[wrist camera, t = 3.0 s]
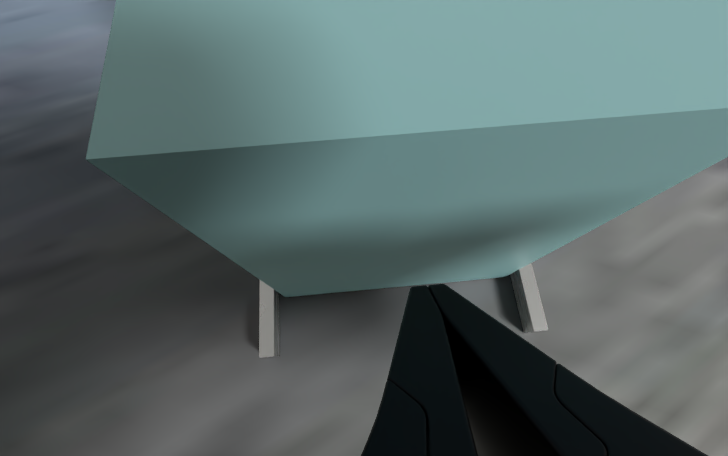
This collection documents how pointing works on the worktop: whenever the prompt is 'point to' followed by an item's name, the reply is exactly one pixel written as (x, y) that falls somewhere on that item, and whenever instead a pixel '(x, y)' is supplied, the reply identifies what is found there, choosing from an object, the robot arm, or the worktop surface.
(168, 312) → the worktop surface
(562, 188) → the block
